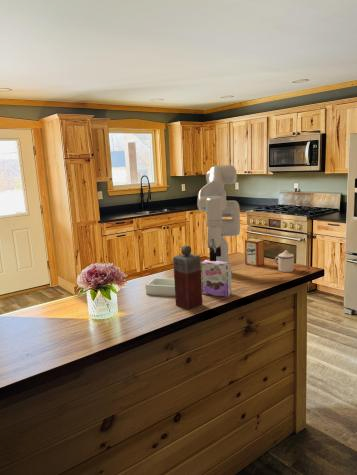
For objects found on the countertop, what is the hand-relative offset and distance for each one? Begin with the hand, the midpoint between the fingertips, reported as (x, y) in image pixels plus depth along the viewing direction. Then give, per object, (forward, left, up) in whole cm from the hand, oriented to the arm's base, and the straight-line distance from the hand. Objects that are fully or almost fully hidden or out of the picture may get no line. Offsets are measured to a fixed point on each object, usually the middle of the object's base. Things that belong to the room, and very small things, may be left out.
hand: (215, 258), depth 183 cm
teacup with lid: (-48, +29, -18) cm, 59 cm away
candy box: (-1, 0, -18) cm, 18 cm away
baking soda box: (-57, +11, -18) cm, 60 cm away
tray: (0, -25, -18) cm, 31 cm away
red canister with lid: (+16, -10, -18) cm, 26 cm away
